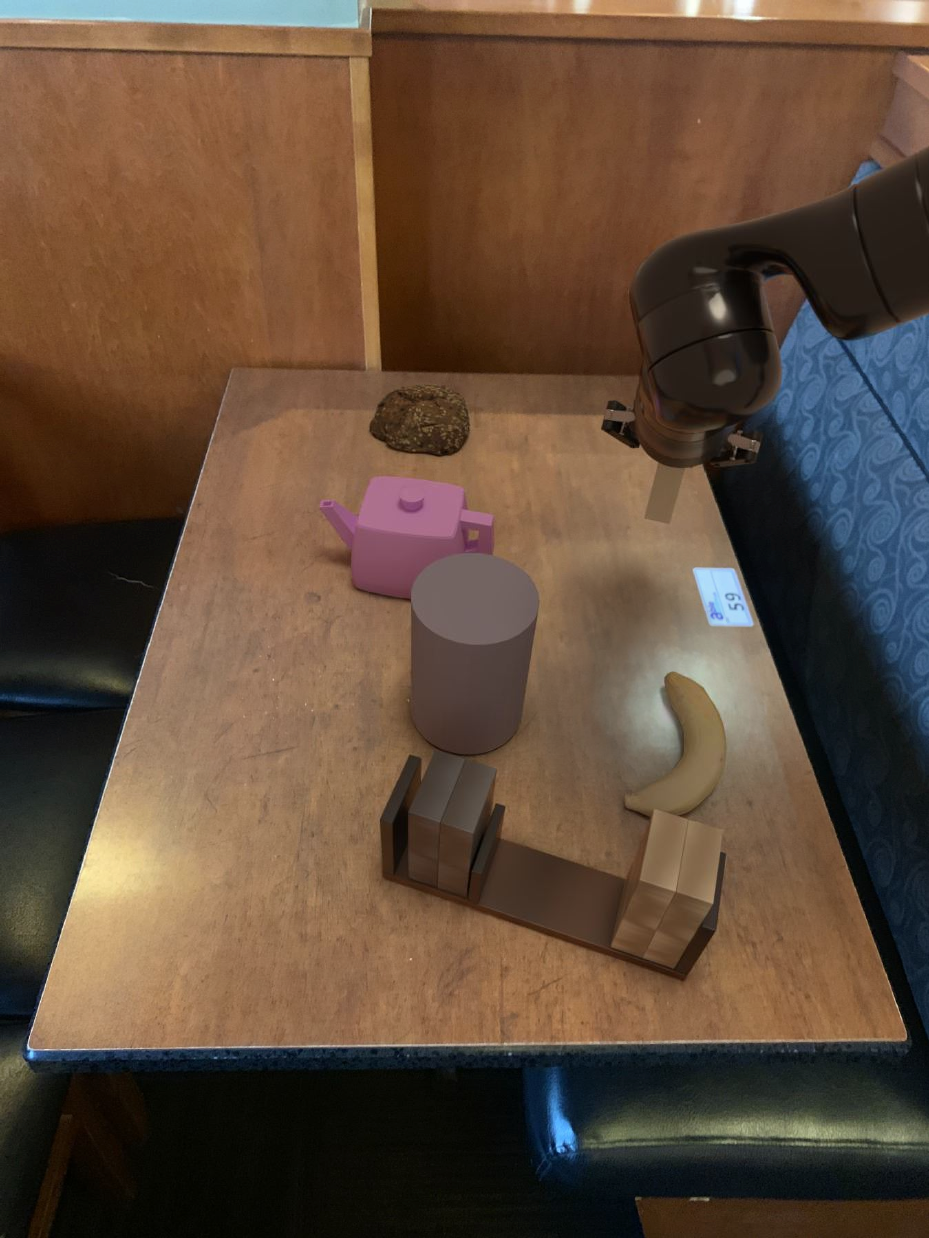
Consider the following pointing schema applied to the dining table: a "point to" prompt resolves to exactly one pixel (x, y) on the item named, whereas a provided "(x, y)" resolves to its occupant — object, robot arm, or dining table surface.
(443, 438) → the bread roll
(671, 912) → the book rack
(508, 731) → the grey upright cylinder
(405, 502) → the teapot
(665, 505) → the cream book
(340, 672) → the dining table surface
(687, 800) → the fruit
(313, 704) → the dining table surface
